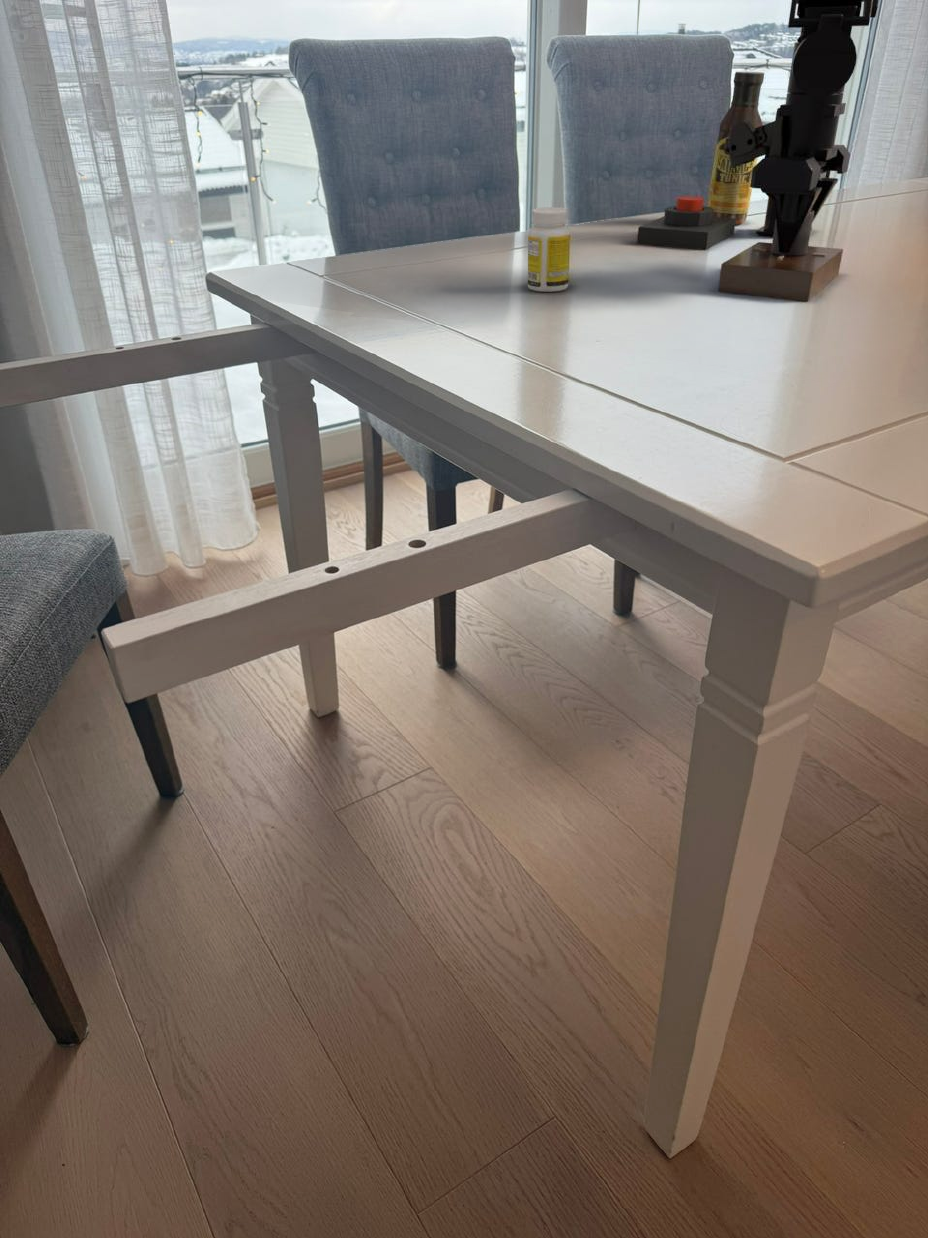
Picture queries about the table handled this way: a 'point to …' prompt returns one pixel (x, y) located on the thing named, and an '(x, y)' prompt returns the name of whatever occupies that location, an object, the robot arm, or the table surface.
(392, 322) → the table surface
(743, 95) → the sauce bottle
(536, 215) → the supplement bottle
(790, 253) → the knob
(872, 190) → the table surface
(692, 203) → the button
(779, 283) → the knob panel
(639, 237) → the button box
